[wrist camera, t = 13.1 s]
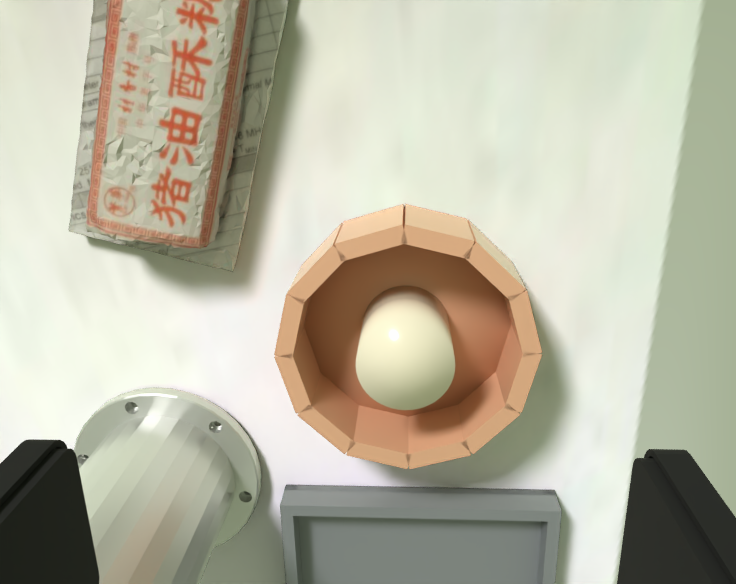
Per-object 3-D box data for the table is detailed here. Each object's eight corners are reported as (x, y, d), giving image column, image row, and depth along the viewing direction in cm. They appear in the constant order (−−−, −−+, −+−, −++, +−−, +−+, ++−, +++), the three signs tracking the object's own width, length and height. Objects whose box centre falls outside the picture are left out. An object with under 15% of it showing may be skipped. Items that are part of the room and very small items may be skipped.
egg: (406, 381, 41) (406, 427, 35) (345, 326, 40) (335, 366, 34) (467, 325, 39) (476, 365, 34) (404, 267, 38) (403, 300, 33)
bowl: (409, 459, 43) (409, 507, 39) (247, 322, 41) (226, 356, 36) (571, 318, 39) (593, 353, 35) (403, 157, 37) (402, 171, 32)
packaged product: (69, -127, 29) (285, -68, 30) (115, -102, 34) (301, -50, 34) (37, 247, 35) (217, 294, 36) (79, 226, 40) (238, 268, 40)
